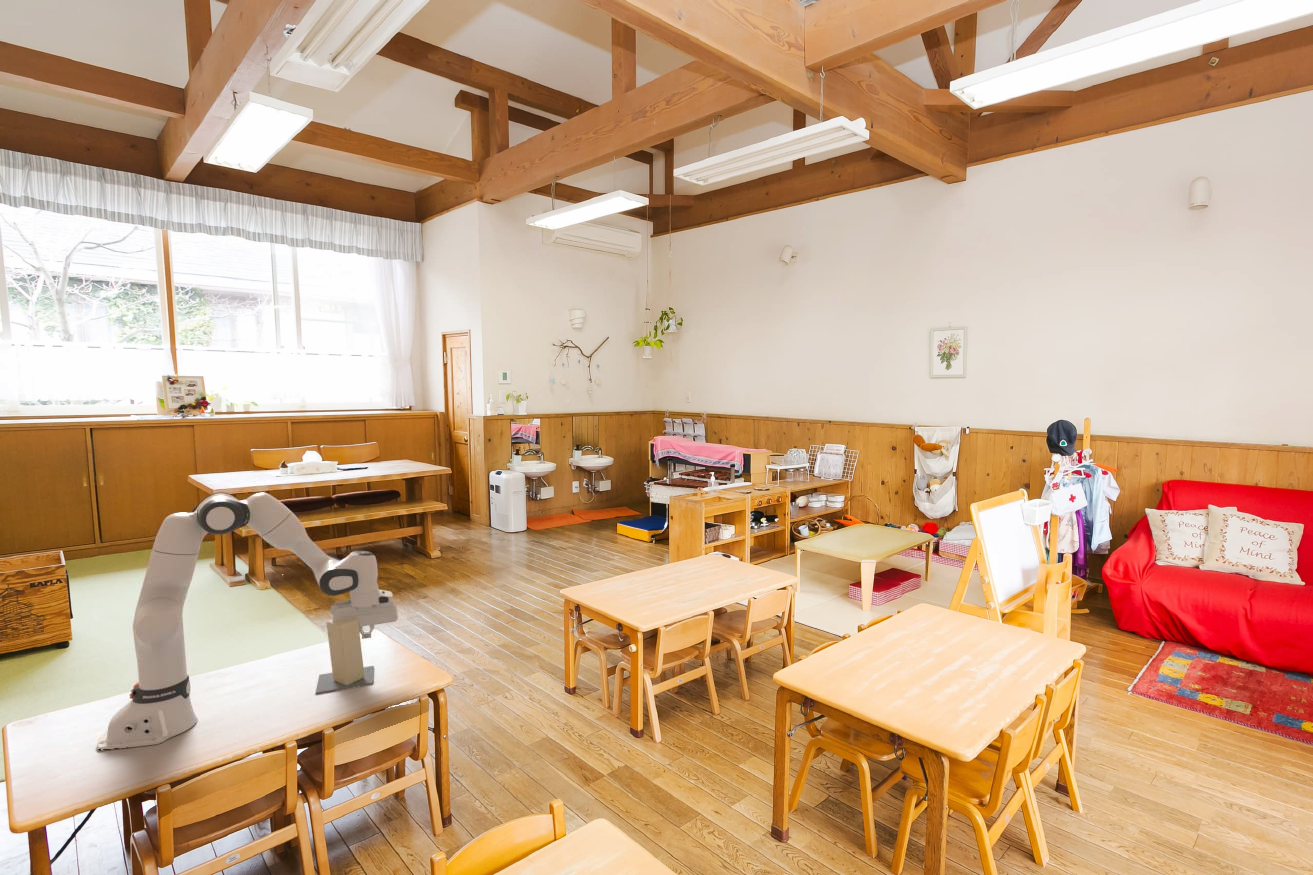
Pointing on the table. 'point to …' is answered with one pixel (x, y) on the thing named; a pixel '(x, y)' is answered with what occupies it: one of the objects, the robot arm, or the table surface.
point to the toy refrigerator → (345, 651)
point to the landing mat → (329, 685)
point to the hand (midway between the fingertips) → (366, 637)
